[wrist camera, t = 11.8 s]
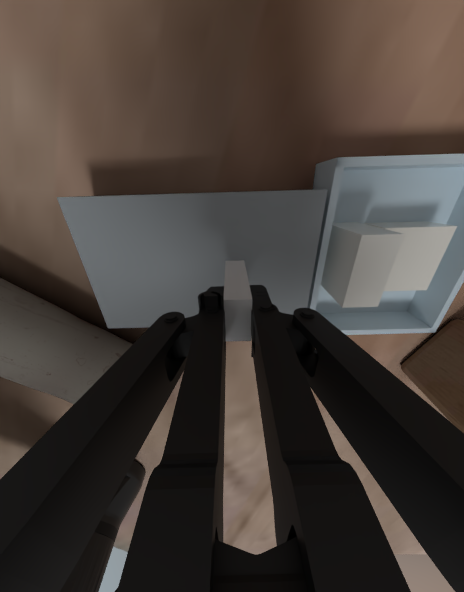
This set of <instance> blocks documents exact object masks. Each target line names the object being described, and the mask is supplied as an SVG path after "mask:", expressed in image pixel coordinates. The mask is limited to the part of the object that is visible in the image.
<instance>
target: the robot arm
mask: <svg viewBox="0 0 464 592" xmlns="http://www.w3.org/2000/svg"><path fill="white" fill-rule="evenodd" d="M198 304H199V313H198V314H197V315H195V316H191V317H187V318H185V317H184V314H182V313H180V312H168V313H166V314H163V315H162V316H160V317H159V318H158V319H157V320H156V321H155V322H154V323H153V324H152V325H151V326H150V327H149V328H148V329H147V330H146V331H145V332H144V333H143V334H142V336H141V337H140V338H139V339H138V340H137V341H136V342H135V343H134V344H133V345H132V346H131V347H130V348H129V349H128V350H127V351H126V352H125V353H124V354H123V355H122V356H121V357H120V358H119V359H118V360H117V361H116V362H115V363H114V364H113V365H112V366H111V367H110V368H109V369H108V370H107V371H106V372H105V373H104V374H103V375H102V376H101V377H100V378H99V379H98V380H97V381H96V382H95V383H94V385H93V386H92V387H91V388H90V389H89V390H88V391H87V392H86V393H85V394H84V395H83V396H82V397H81V398H80V399H79V400H78V401H77V402H76V403H75V404H74V405H73V406H72V407H71V408H70V409H69V410H68V411H67V412H66V413H65V414H64V415H63V416H62V417H61V418H60V419H59V420H58V421H57V422H56V423H55V424H54V425H53V426H52V427H51V428H50V429H49V430H48V431H47V433H46V434H45V435H44V436H43V437H42V438H41V439H40V440H39V441H38V442H37V443H36V444H35V445H34V446H33V447H32V448H31V449H30V450H29V451H28V452H27V453H26V454H25V455H24V456H23V457H22V458H21V459H20V460H19V461H18V462H17V463H16V464H15V465H14V466H13V467H12V468H11V469H10V470H9V471H8V472H7V473H6V474H5V475H4V476H3V477H2V478H1V479H0V592H98V591H99V588H100V585H101V582H102V579H103V575H104V573H105V570H106V567H107V563H108V560H109V557H110V554H111V551H112V548H113V545H114V542H115V539H116V536H117V533H118V530H119V527H120V525H121V523H122V521H123V519H124V517H125V515H126V514H127V512H128V510H129V508H130V507H131V505H132V503H133V501H134V499H135V498H136V496H137V494H138V492H139V491H140V489H141V486H142V483H143V480H144V477H145V470H144V468H143V467H142V466H141V465H140V464H139V463H137V462H136V461H134V459H135V457H136V456H137V454H138V452H139V450H140V448H141V447H142V445H143V443H144V441H145V439H146V438H147V436H148V434H149V432H150V430H151V429H152V427H153V425H154V423H155V421H156V420H157V418H158V416H159V414H160V412H161V411H162V409H163V407H164V405H165V403H166V402H167V400H168V398H169V396H170V394H171V393H172V391H173V389H174V387H175V385H176V384H177V382H178V380H179V378H180V376H181V375H182V373H183V371H184V373H183V377H182V381H181V385H180V389H179V393H178V397H177V401H176V405H175V409H174V413H173V417H172V421H171V425H170V430H169V434H168V438H167V442H166V446H165V450H164V454H163V457H162V460H161V462H160V464H159V465H158V466H157V467H156V468H154V470H153V472H152V474H151V476H150V478H149V481H148V484H147V487H146V490H145V493H144V497H143V501H142V504H141V508H140V511H139V515H138V518H137V522H136V526H135V529H134V533H133V536H132V540H131V544H130V547H129V551H128V554H127V558H126V561H125V565H124V569H123V572H122V576H121V580H120V583H119V586H118V588H117V589H116V591H115V592H411V591H410V589H409V587H408V585H407V582H406V580H405V578H404V576H403V574H402V571H401V569H400V567H399V565H398V562H397V560H396V558H395V556H394V554H393V551H392V549H391V547H390V545H389V542H388V540H387V538H386V536H385V534H384V531H383V529H382V527H381V525H380V523H379V520H378V518H377V516H376V514H375V511H374V509H373V507H372V505H371V503H370V500H369V498H368V496H367V494H366V491H365V489H364V487H363V485H362V483H361V481H360V479H359V477H358V475H357V473H356V472H355V470H354V469H353V468H352V466H351V465H350V464H349V463H347V462H345V461H343V460H341V458H340V457H339V456H338V454H337V451H336V449H335V447H334V445H333V442H332V440H331V437H330V435H329V432H328V430H327V427H326V425H325V422H324V420H323V418H322V415H321V413H320V410H319V408H318V405H317V403H316V400H315V398H314V396H313V393H312V391H311V388H312V390H313V391H314V393H315V394H316V396H317V397H318V398H319V400H320V401H321V403H322V404H323V406H324V407H325V408H326V410H327V411H328V413H329V414H330V416H331V417H332V418H333V420H334V421H335V423H336V424H337V426H338V427H339V428H340V430H341V431H342V433H343V434H344V436H345V437H346V439H347V440H348V441H349V443H350V444H351V446H352V447H353V449H354V450H355V451H356V453H357V454H358V456H359V457H360V459H361V460H362V461H363V463H364V464H365V466H366V467H367V469H368V470H369V471H370V473H371V474H372V476H373V477H374V479H375V480H376V481H377V483H378V484H379V486H380V487H381V489H382V490H383V492H384V493H385V494H386V496H387V497H388V499H389V500H390V502H391V503H392V504H393V506H394V507H395V509H396V510H397V512H398V513H399V514H400V516H401V517H402V519H403V520H404V522H405V523H406V524H407V526H408V527H409V529H410V530H411V532H412V533H413V534H414V536H415V537H416V539H417V540H418V542H419V543H420V545H421V546H422V547H423V549H424V550H425V552H426V553H427V554H428V556H429V557H430V558H431V560H432V561H433V562H434V564H435V565H436V567H437V568H438V569H439V571H440V572H441V573H442V575H443V576H444V577H445V579H446V580H447V581H448V583H449V584H450V586H452V588H453V589H454V590H455V591H456V592H464V433H463V432H462V431H460V430H459V429H458V428H457V427H456V426H454V425H453V424H452V423H451V422H450V421H448V420H447V419H446V418H445V417H444V416H442V415H441V414H440V413H439V412H438V411H436V410H435V409H434V408H433V407H432V406H430V405H429V404H428V403H427V402H426V401H424V400H423V399H422V398H421V397H420V396H418V395H417V394H416V393H415V392H414V391H412V390H411V389H410V388H409V387H408V386H406V385H405V384H404V383H403V382H402V381H400V380H399V379H398V378H397V377H396V376H394V375H393V374H392V373H391V372H390V371H388V370H387V369H386V368H385V367H384V366H382V365H381V364H380V363H379V362H378V361H376V360H375V359H374V358H373V357H372V356H370V355H369V354H368V353H367V352H366V351H364V350H363V349H362V348H361V347H360V346H358V345H357V344H356V343H355V342H354V341H352V340H351V339H350V338H349V337H348V336H346V335H345V334H344V333H343V332H342V331H340V330H339V329H338V328H337V327H336V326H334V325H333V324H332V323H331V322H329V321H328V320H327V319H326V318H325V317H323V316H322V315H321V314H320V313H319V312H317V311H315V310H313V309H310V308H298V309H296V310H295V311H294V313H293V315H292V314H286V313H282V312H279V310H278V308H277V306H276V305H274V304H272V302H271V299H270V297H269V294H268V292H267V289H266V287H264V286H263V285H249V281H248V276H247V271H246V267H245V262H244V260H239V261H226V263H225V280H224V286H215V287H210V288H209V289H207V291H205V292H202V293H200V294H199V295H198ZM251 336H252V356H251V357H253V359H254V366H255V373H256V381H257V388H258V395H259V402H260V409H261V417H262V424H263V431H264V438H265V445H266V452H267V460H268V467H269V474H270V481H271V488H272V495H273V503H274V520H275V533H276V542H277V546H276V547H274V548H272V549H270V550H268V551H266V552H264V553H262V554H258V555H254V554H251V553H248V552H246V551H243V550H241V549H238V548H236V547H233V546H230V545H228V544H225V543H223V474H224V421H225V368H226V341H251ZM310 387H311V388H310Z"/></svg>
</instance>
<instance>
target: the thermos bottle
mask: <svg viewBox="0 0 464 592" xmlns="http://www.w3.org/2000/svg"><path fill="white" fill-rule="evenodd" d="M132 345H133V344H132V343H130V342H128V341H126V340H124V339H122V338H120V337H118V336H116V335H114V334H112V333H110V332H108V331H106V330H103V329H101V328H99V327H97V326H95V325H92V324H90V323H88V322H86V321H84V320H82V319H80V318H78V317H76V316H75V315H73V314H71V313H69V312H67V311H65V310H64V309H62V308H60V307H58V306H56V305H54V304H52V303H50V302H48V301H46V300H44V299H42V298H40V297H38V296H36V295H34V294H32V293H30V292H28V291H26V290H24V289H22V288H20V287H18V286H16V285H14V284H12V283H10V282H8V281H6V280H4V279H2V278H0V377H3V378H5V379H8V380H11V381H13V382H16V383H19V384H21V385H24V386H27V387H29V388H32V389H35V390H39V391H42V392H45V393H48V394H51V395H54V396H56V397H59V398H61V399H64V400H66V401H68V402H70V403H73V404H75V403H76V402H77V401H78V400H79V399H80V398H81V397H82V396H83V395H84V394H85V393H86V392H87V391H88V390H89V389H90V388H91V387H92V386H93V385H94V383H95V382H96V381H97V380H98V379H99V378H100V377H101V376H102V375H103V374H104V373H105V372H106V371H107V370H108V369H109V368H110V367H111V366H112V365H113V364H114V363H115V362H116V361H117V360H118V359H119V358H120V357H121V356H122V355H123V354H124V353H125V352H126V351H127V350H128V349H129V348H130V347H131V346H132Z"/></svg>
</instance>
